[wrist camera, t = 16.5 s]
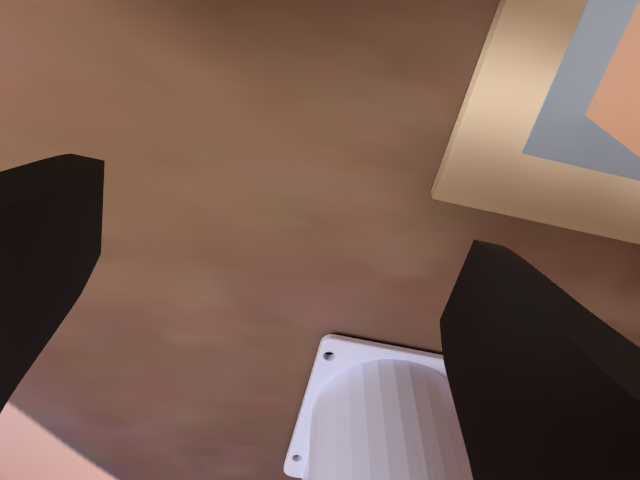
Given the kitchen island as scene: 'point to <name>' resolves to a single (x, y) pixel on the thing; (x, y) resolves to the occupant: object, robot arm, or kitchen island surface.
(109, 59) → the kitchen island surface
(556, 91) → the baseboard
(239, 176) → the kitchen island surface
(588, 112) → the terracotta base block
